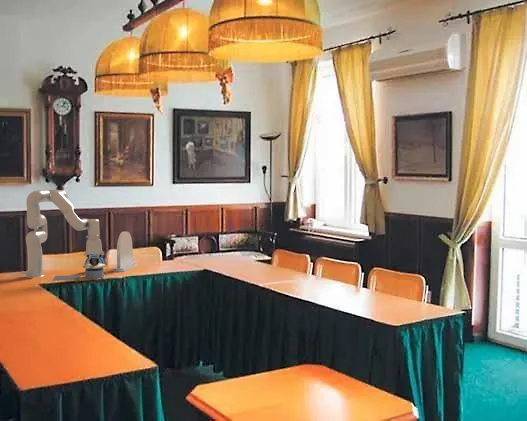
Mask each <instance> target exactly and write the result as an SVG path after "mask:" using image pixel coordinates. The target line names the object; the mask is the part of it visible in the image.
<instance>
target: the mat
mask: <svg viewBox="0 0 527 421" xmlns="http://www.w3.org/2000/svg"><path fill="white" fill-rule="evenodd" d="M81 275H82V274H77V275H75V274H74V275H73V274H72V275H55V276H54V277H53V278H52V281H72V280H73V281H74V280H77V281H79V280H80V279H81Z"/></svg>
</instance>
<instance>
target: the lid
mask: <svg viewBox="0 0 527 421" xmlns="http://www.w3.org/2000/svg"><path fill="white" fill-rule="evenodd" d="M91 259H92V265H90V264H86V265H85V264H82V268H84V269H86V268H89V269H94V268H103V269H104V268H106V266H107V265H106V263H104V264H98V265H97V258H91Z"/></svg>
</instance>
